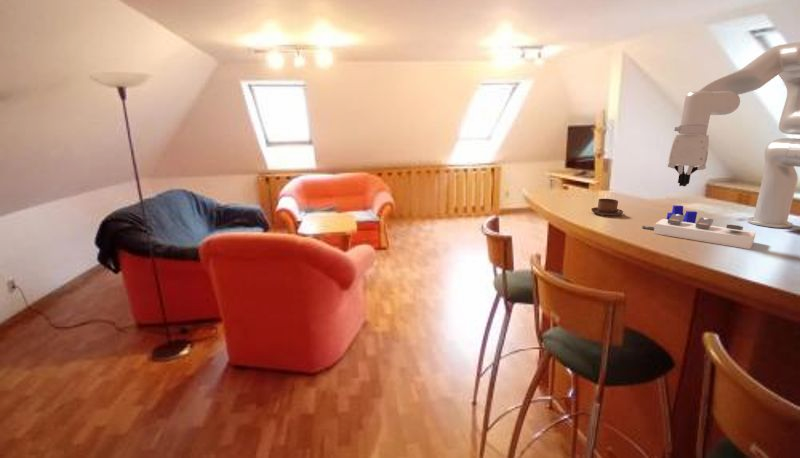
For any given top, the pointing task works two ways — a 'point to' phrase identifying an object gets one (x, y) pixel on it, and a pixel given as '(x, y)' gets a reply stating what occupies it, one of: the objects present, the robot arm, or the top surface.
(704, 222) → the block
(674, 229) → the power strip
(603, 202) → the cup and saucer
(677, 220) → the grey flat block
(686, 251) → the top surface
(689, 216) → the cable clip
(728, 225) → the grey rectangular block
